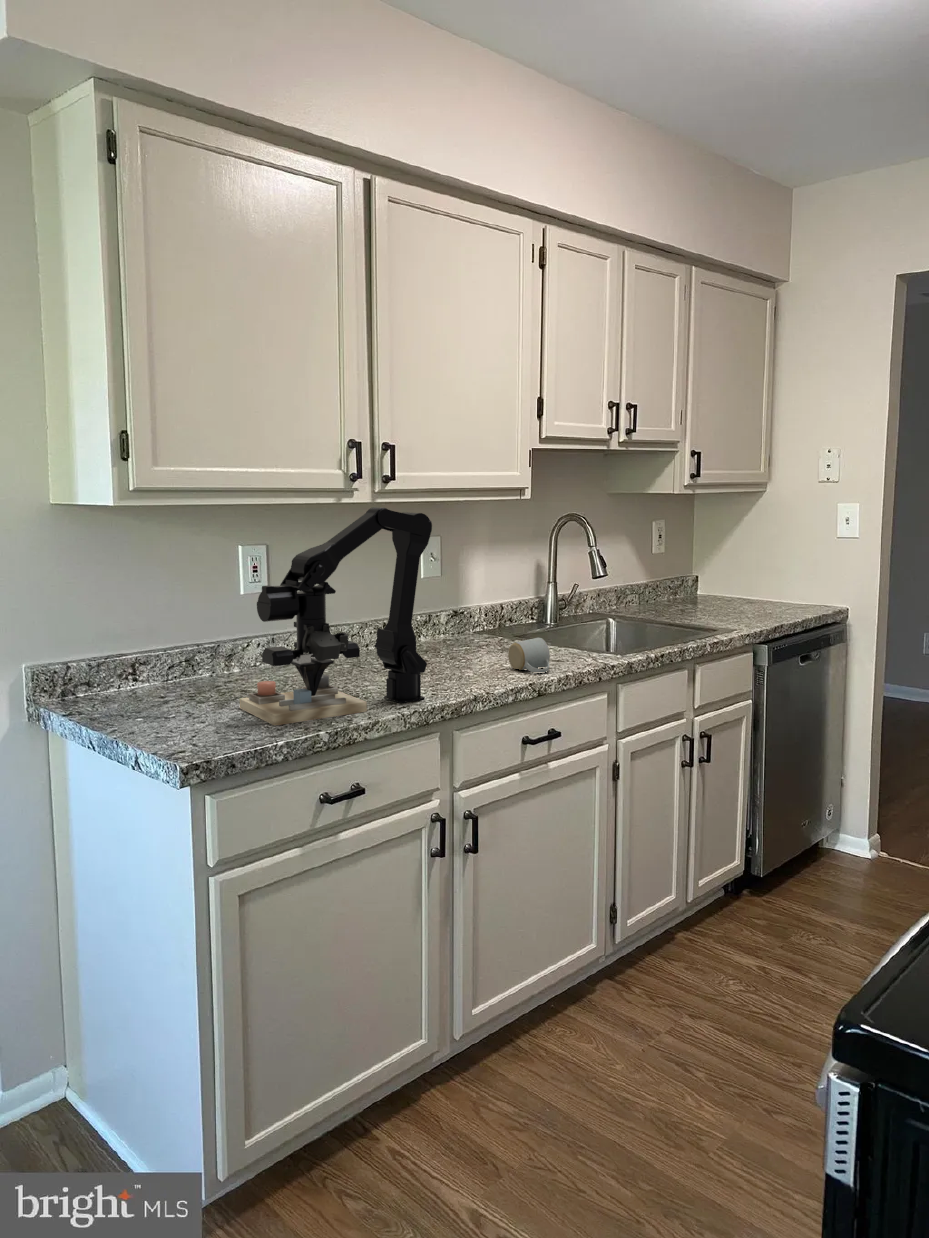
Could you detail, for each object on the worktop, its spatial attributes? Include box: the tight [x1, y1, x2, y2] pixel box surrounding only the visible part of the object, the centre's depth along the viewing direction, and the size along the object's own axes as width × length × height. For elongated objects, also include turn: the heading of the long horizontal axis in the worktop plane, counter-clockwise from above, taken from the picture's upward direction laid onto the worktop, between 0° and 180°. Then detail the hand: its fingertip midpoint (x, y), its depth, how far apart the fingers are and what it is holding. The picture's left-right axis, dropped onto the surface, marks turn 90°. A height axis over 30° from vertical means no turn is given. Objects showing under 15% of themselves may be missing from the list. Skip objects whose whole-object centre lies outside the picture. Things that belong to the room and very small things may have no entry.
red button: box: [256, 680, 277, 695], centre depth 195 cm, size 4×4×2 cm
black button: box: [318, 673, 330, 688], centre depth 201 cm, size 4×4×2 cm
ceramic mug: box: [507, 637, 551, 673], centre depth 236 cm, size 11×8×8 cm
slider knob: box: [292, 688, 311, 704], centre depth 190 cm, size 2×3×3 cm
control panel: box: [239, 684, 368, 726], centre depth 195 cm, size 20×17×3 cm
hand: (312, 695), depth 191 cm, fingers closed
